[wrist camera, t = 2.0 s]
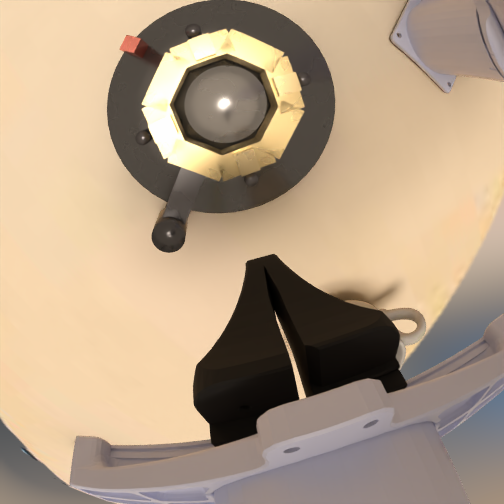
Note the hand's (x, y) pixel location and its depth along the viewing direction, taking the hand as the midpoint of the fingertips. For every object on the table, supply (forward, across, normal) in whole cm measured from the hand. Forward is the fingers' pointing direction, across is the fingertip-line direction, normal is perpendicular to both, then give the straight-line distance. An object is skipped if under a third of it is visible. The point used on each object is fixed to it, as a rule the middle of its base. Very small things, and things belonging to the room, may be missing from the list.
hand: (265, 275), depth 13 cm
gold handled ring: (+9, +1, -5) cm, 11 cm away
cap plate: (+10, 0, -8) cm, 13 cm away
